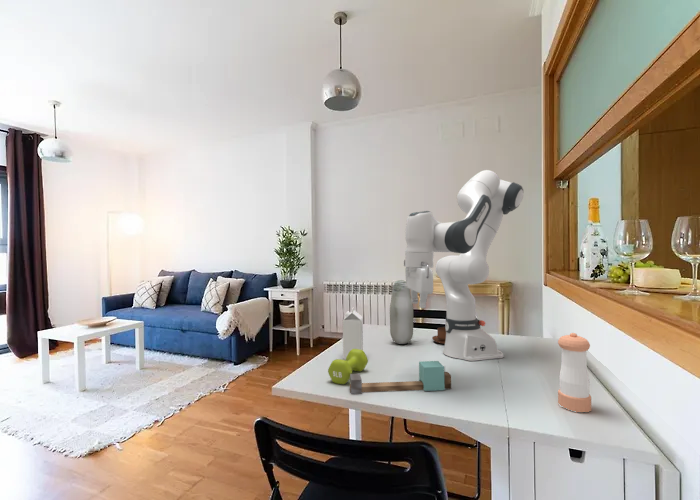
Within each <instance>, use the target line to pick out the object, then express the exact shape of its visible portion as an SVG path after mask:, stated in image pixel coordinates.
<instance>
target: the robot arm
mask: <svg viewBox="0 0 700 500" xmlns="http://www.w3.org/2000/svg"><path fill="white" fill-rule="evenodd" d="M456 196H457V197H456V202H457V206H459V208H460V209H461V210H462V212H463V213H465V214H466V216H465V217H464V218H462V219H461V220H456V221H449V222H441V221H439V220H437V219H436V218H435V217H434V216H433V212H432V211H429V210H422V211H416V212H411V213H409V215H407V220H406V224H405V225H406V226H405V243H406V248H405V251H404V257H405V258H404V261H403V266H404V267H405V281H406V285H407V288H409V289H410V296H411V300H412V304H414V305H415V304H416V305H418V307H419V308H420V309H426V308H427V301H428V296H429V295H432V294H433V292H434V272H433V270H432V269H433V268H434V256H435V255H434V254H435V253H453V254H454V253H455V254H457V255H446V256H444V257H443V256H442V257H441V258H440V259H438V260H437V262H436V264H435V273H436V275H437V276H438V278H439V279H440V281H441V284H442V286H443V291H444V294H445V300H446V301H445V303H446V304H445V305H446V307H445V308H446V317H445V324H444V325H445V326H444V327H445V329H446V340H445V344H444V346H443V349H442V350H443V351H442V353H443V354H444V356H445V355H446V356H447V357H450V358H453V359H455V358H456V359H460V360H464V361H465V360H466V361H469V362H475V361H481V360H482V361H484V360H492V359H502V358H504V353H503V352H502V351H501V350H499V349H498V346H497V343H496V340H495V338H494V337H493V336H491V335H490V334H489V333H487V332H486V331H485V330H484V329H482V327H485V326H486V324H487V323H486V322H485V320H481V319H478V318H477V310H476V308H477V306H476V305H477V301H476V297H475V296H474V295H473V294H472V292H471V290H470V287H469V285H477V284H482V283H483V282H485V281H486V280H487V279H488V277H489V273H490V267H489V264H488V262H487V255H488V251H489V249H490V246H491V245H492V242H493V241H494V240H495V238H496V235H497V233H498V231H499V229H500V227H501V223H502V220H503V216H504V215H508V214H509V213H510V212H513V211H514V210H516V209H518V208H519V206H520V205H521V203H522V202H523V198H524V188H523V186H522V185H521V184H518V183H516V182H514V181H513V182H511V181H507V180H503V179H502V178H501V179H500V177H499V175H498V174H497V173H496V172H495V171H493V170H490V169H483V170H481V171H479V172H477V173H476V174H475V175H473V176H472V177H471V178H470V179H469V180H467V182H465V183H464V185H463V186H462V187H461V188H460V190H459V191H458V193H457V195H456ZM458 254H459V255H458ZM418 294H419V298H418ZM481 326H482V327H481Z"/></svg>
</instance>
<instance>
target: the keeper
mask: <svg viewBox="0 0 700 500" xmlns="http://www.w3.org/2000/svg"><path fill="white" fill-rule="evenodd" d="M444 372H445V366H444V365H443V364H442V363H441V362H440V361H439V360H429V361H427V360H423V361H421V360H420V361H418V381H422V382H423V384H424V390H423V391H424V392H429V391H430V392H431V391H432V392H433V391H435V392H436V391H445V390H446V389H444Z"/></svg>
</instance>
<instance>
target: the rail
mask: <svg viewBox="0 0 700 500" xmlns="http://www.w3.org/2000/svg"><path fill="white" fill-rule="evenodd" d="M444 389H445V390H448V389H449V390H450V389H451V390H452V375H451V373H449V372H448V371H444ZM401 391H402V392H403V391H424V384H423V382H422V381H419V380H415V381H413V380H411V381H410V380H409V381H406V380H405V381H386V382H385V381H383V382H362V376H361V373H352V374H350V379H349V392H350V393H351V395H353V394H354V395H359V394H360V395H362V393H376V392H377V393H378V392H401Z"/></svg>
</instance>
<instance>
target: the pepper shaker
mask: <svg viewBox="0 0 700 500" xmlns="http://www.w3.org/2000/svg"><path fill="white" fill-rule="evenodd" d="M557 344H558V346H559V347H560V348H561V364H560V372H559V377H558V379H559V389H558V390H557V403H559V404H560V405H561V406H563V407H564V408H567V409H569V410H572V411H576V412H575V413H577V412H589V411H591V412H592V396H591V394H590V385H591V384H590V378H589V373H588V367H587V366H588V365H587V364H588V363H587V361H588V360H587V358H588V357H587V351H589V349H590V347H591V344H590V342H589V340H588V339H587V338H585V337H583V336H580V335H578V334H577V333H575V332H571V333H570V334H566V335H565V334H564V335H562V336H560V337H559V338H558V340H557ZM559 404H558V405H559ZM564 408H563V409H564ZM569 410H568V411H569ZM572 411H571V412H572ZM589 413H590V412H589Z"/></svg>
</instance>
